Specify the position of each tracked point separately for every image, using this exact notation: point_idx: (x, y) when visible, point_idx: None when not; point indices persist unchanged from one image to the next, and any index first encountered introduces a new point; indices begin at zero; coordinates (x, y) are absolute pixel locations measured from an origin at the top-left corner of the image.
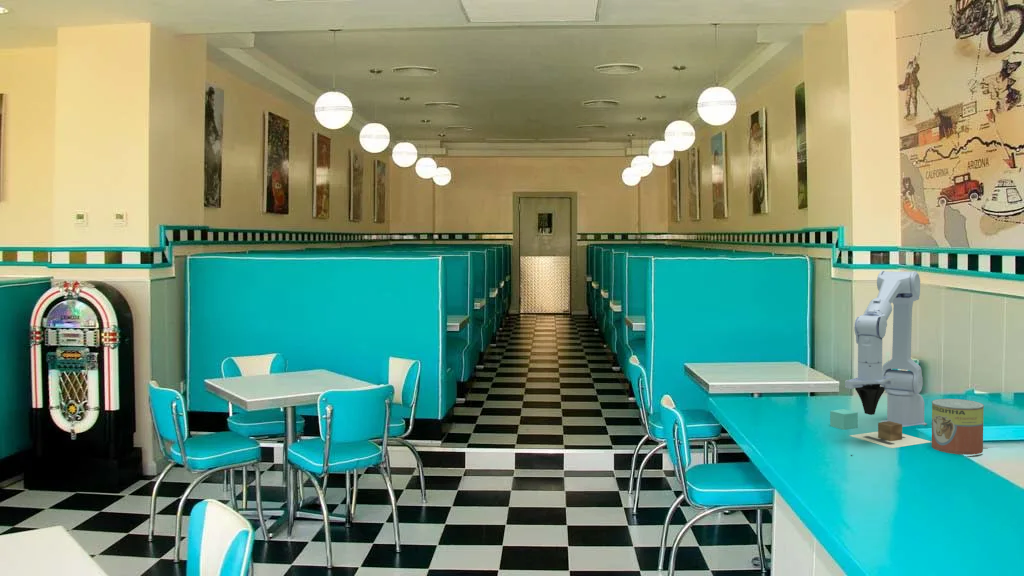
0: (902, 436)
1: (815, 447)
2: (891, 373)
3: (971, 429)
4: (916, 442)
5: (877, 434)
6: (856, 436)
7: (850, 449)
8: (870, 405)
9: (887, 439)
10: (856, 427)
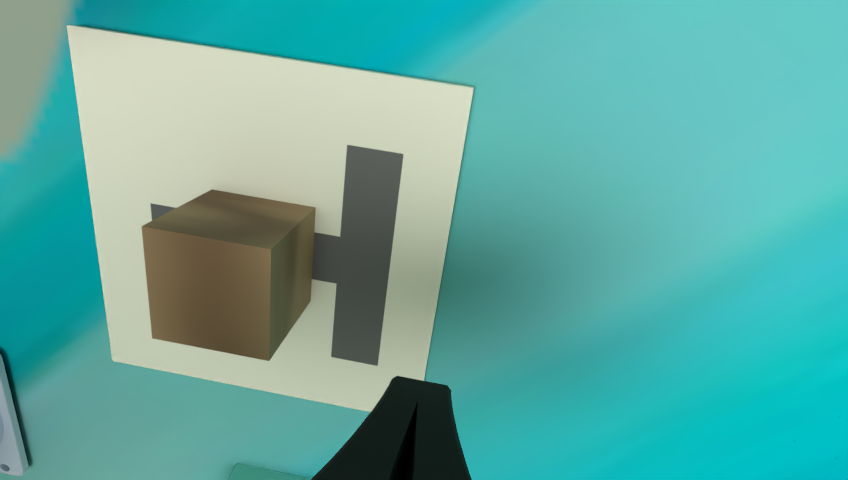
0: None
1: (791, 409)
2: None
3: None
4: (184, 82)
5: None
6: None
7: (671, 265)
8: (463, 468)
9: (312, 232)
10: (239, 477)
